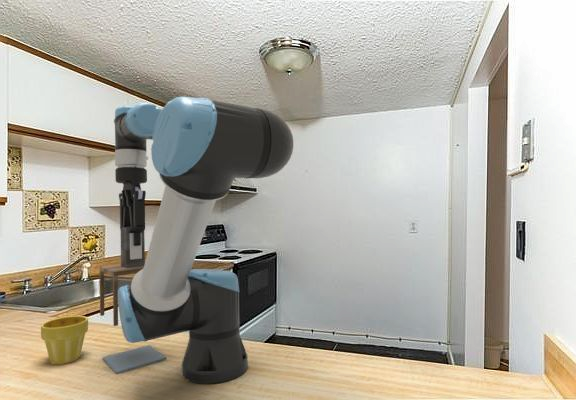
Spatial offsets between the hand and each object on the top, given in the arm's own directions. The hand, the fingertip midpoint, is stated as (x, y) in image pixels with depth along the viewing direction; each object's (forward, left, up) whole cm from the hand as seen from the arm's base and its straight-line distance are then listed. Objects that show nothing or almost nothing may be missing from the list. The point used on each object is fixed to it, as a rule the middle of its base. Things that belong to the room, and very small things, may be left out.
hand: (132, 257), depth 93 cm
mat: (0, 0, -26) cm, 26 cm away
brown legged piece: (0, 0, -15) cm, 15 cm away
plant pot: (+13, +13, -26) cm, 32 cm away
